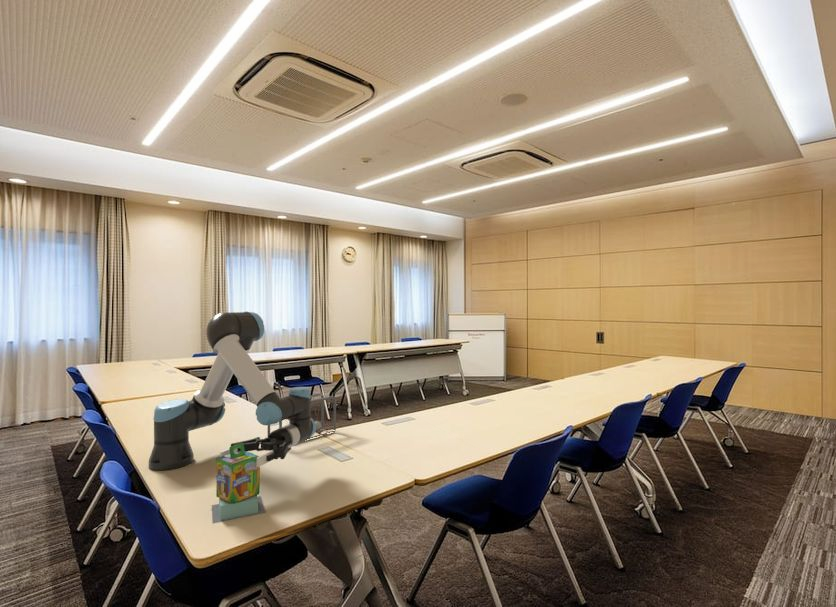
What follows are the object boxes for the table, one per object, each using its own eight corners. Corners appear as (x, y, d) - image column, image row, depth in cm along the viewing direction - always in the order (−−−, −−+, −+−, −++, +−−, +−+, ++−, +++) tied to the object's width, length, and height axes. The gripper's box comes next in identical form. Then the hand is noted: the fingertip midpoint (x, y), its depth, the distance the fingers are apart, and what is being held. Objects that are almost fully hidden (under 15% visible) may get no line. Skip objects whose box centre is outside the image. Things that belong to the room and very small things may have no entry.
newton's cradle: (280, 448, 185) (280, 407, 185) (267, 443, 191) (267, 403, 191) (336, 433, 207) (336, 395, 207) (322, 428, 214) (322, 392, 214)
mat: (212, 525, 121) (212, 523, 121) (211, 507, 131) (211, 505, 131) (265, 514, 127) (265, 512, 127) (260, 498, 138) (260, 496, 138)
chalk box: (232, 505, 123) (232, 452, 123) (214, 496, 128) (215, 446, 128) (261, 493, 130) (261, 444, 130) (243, 486, 136) (243, 438, 136)
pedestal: (220, 520, 122) (220, 505, 122) (219, 505, 131) (219, 492, 131) (258, 512, 127) (258, 498, 127) (254, 498, 136) (254, 485, 136)
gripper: (314, 453, 145) (273, 477, 125) (253, 445, 154) (206, 466, 134) (314, 431, 145) (273, 451, 125) (253, 424, 154) (206, 442, 134)
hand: (238, 459), depth 130 cm, fingers open, 13 cm apart
